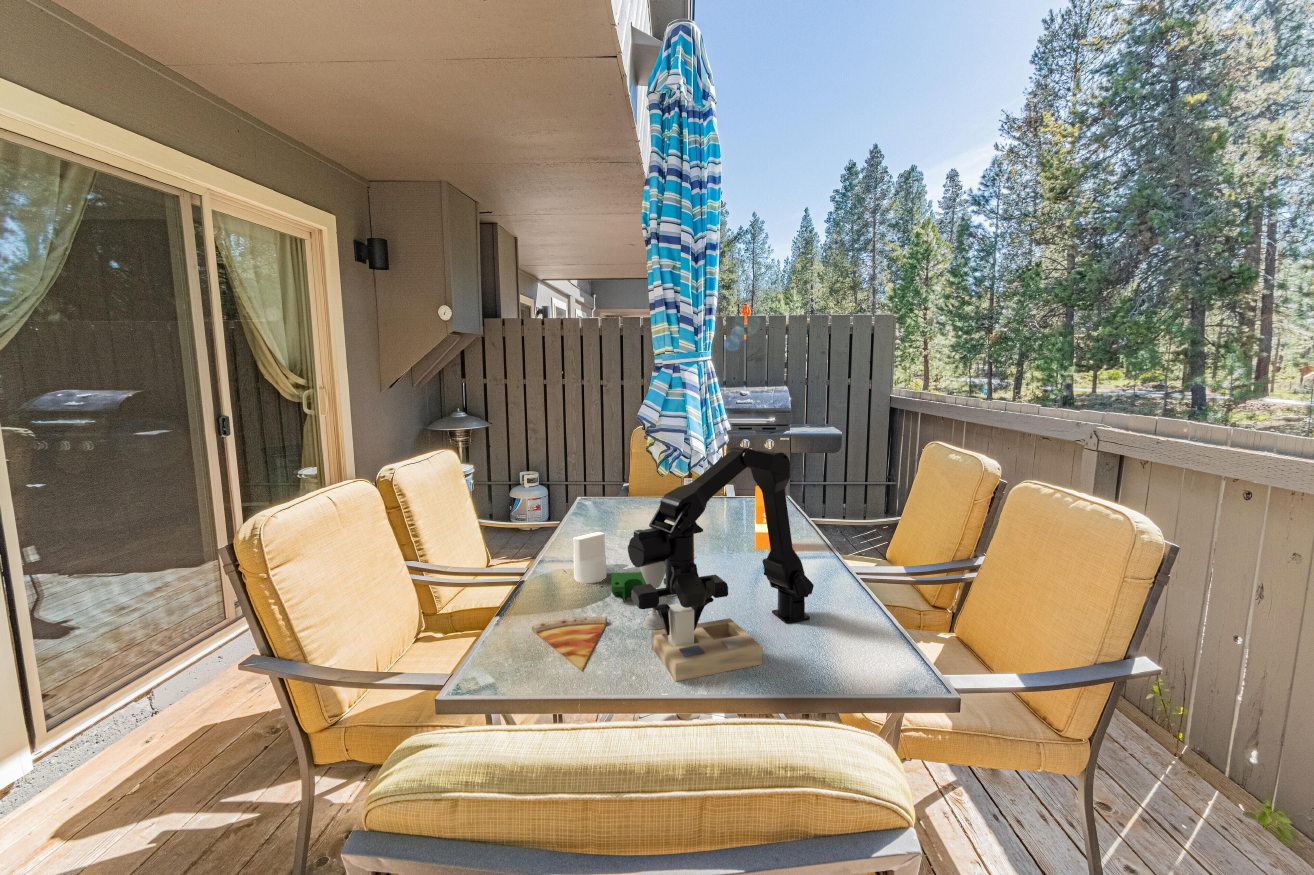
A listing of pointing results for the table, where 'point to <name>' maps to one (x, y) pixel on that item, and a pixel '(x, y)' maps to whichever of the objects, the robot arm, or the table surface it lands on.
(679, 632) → the plug
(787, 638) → the table surface
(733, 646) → the socket board
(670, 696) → the table surface
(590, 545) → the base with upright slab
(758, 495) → the orange juice
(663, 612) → the robot arm
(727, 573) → the table surface
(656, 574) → the chalice
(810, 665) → the table surface
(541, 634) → the pizza slice
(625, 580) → the clamp
